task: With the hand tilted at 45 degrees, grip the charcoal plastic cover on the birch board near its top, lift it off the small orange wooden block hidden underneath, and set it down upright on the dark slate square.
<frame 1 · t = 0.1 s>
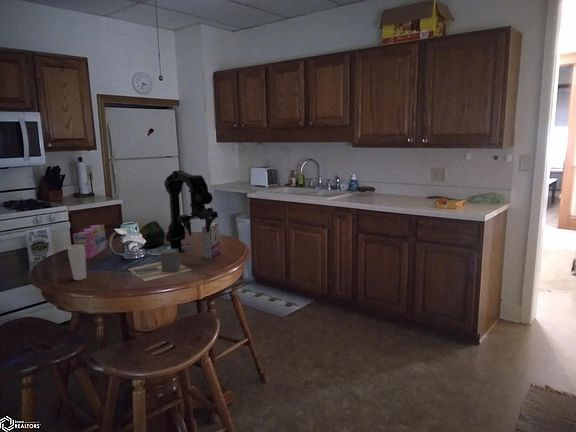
hand: (199, 234, 204), 15 cm above the table, tool pointing down, fingers open, 9 cm apart
birch board: (159, 270, 197), on the table
candy bar box: (212, 256, 219), on the table
orange block: (170, 265, 196), in the charcoal cover, touching birch board
drinking glass: (80, 279, 188), on the table
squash: (152, 245, 241), on the table
gum box: (92, 253, 230), on the table
charcoal cover: (170, 260, 195), on the birch board
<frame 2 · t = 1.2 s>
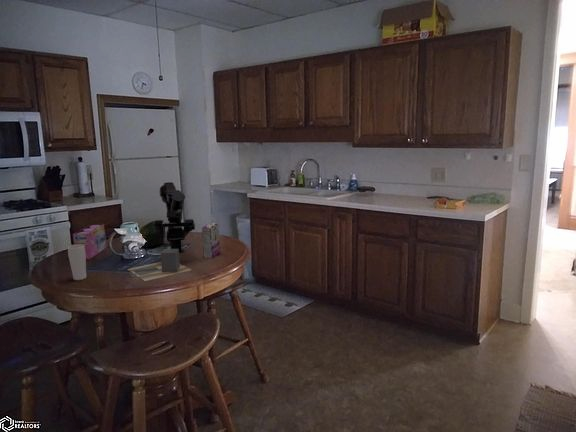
hand: (172, 240, 201), 13 cm above the table, tool tilted 45°, fingers open, 9 cm apart
nothing on the table moved.
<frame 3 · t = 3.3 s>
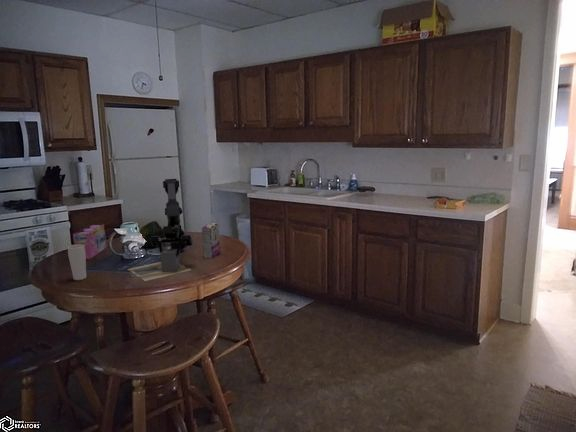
hand: (169, 256, 194), 7 cm above the table, tool tilted 45°, fingers closed on charcoal cover, 7 cm apart
charcoal cover: (170, 260, 195), on the birch board, touching gripper
everything else where it was.
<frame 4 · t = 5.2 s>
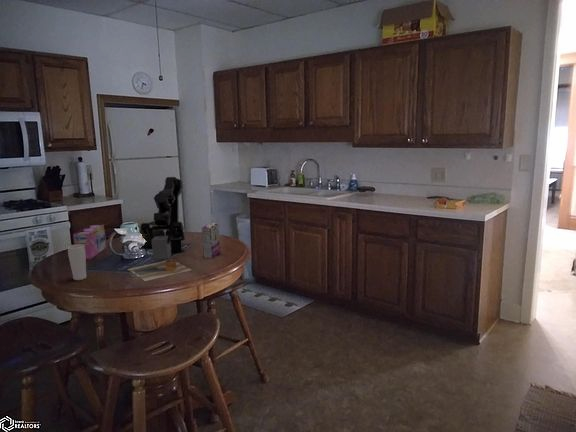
hand: (160, 243, 192), 13 cm above the table, tool tilted 45°, fingers closed on charcoal cover, 7 cm apart
charcoal cover: (161, 247, 194), point 11 cm above the table, touching gripper
everything else where it was.
when the fingers open (8 cm above the table, at t = 7.5 s): charcoal cover drops 1 cm, resting on birch board.
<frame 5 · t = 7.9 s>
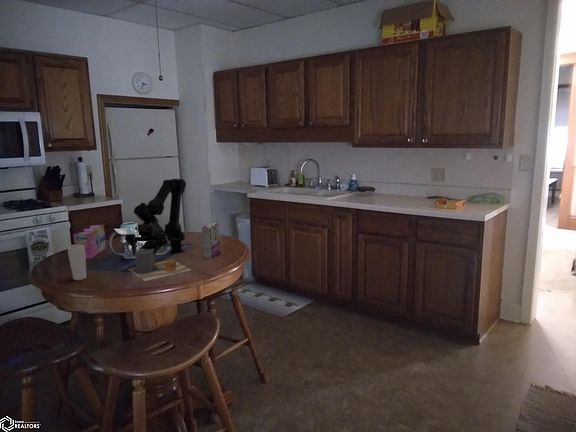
hand: (143, 254, 193), 8 cm above the table, tool tilted 45°, fingers open, 9 cm apart
charcoal cover: (145, 260, 195), on the birch board, point 5 cm above the table
everything else where it was.
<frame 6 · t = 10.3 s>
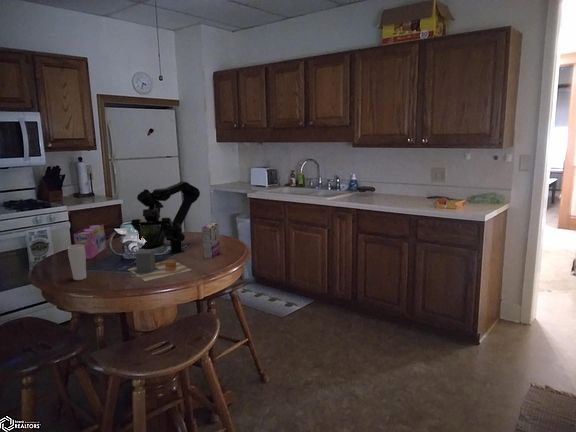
hand: (149, 238, 201), 14 cm above the table, tool tilted 45°, fingers open, 9 cm apart
nothing on the table moved.
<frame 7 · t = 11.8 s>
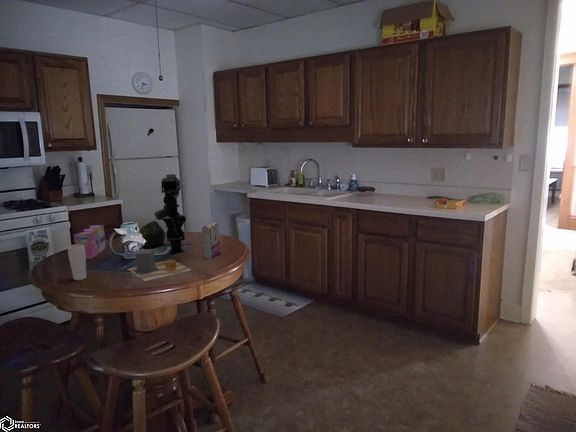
hand: (173, 233, 213), 13 cm above the table, tool pointing down, fingers open, 9 cm apart
nothing on the table moved.
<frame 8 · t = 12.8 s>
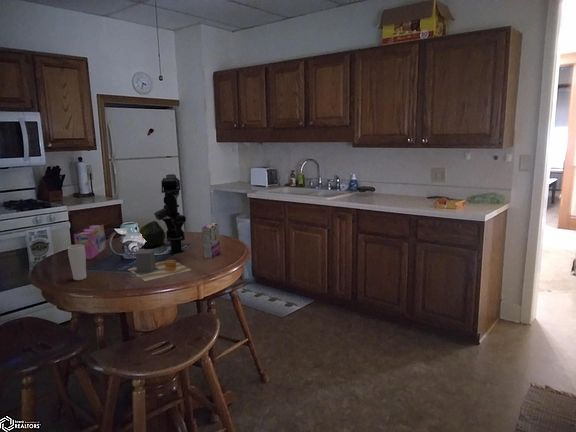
hand: (173, 233, 213), 13 cm above the table, tool pointing down, fingers open, 9 cm apart
nothing on the table moved.
at the end: charcoal cover 0.0 cm from the target spot on the birch board, point 5.1 cm above the birch board's base; charcoal cover tilted 0°; the gripper is holding nothing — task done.
